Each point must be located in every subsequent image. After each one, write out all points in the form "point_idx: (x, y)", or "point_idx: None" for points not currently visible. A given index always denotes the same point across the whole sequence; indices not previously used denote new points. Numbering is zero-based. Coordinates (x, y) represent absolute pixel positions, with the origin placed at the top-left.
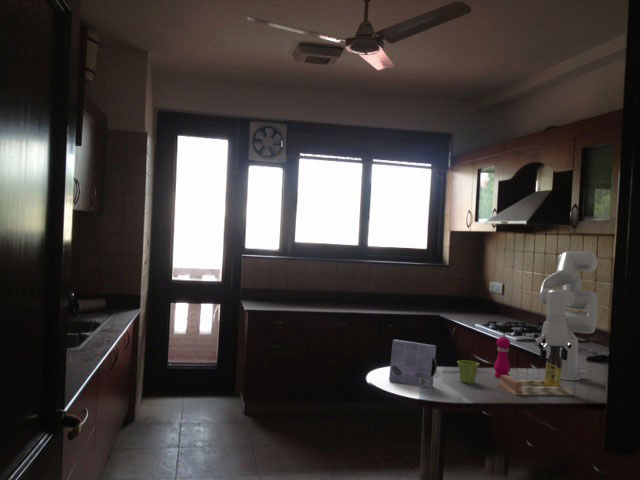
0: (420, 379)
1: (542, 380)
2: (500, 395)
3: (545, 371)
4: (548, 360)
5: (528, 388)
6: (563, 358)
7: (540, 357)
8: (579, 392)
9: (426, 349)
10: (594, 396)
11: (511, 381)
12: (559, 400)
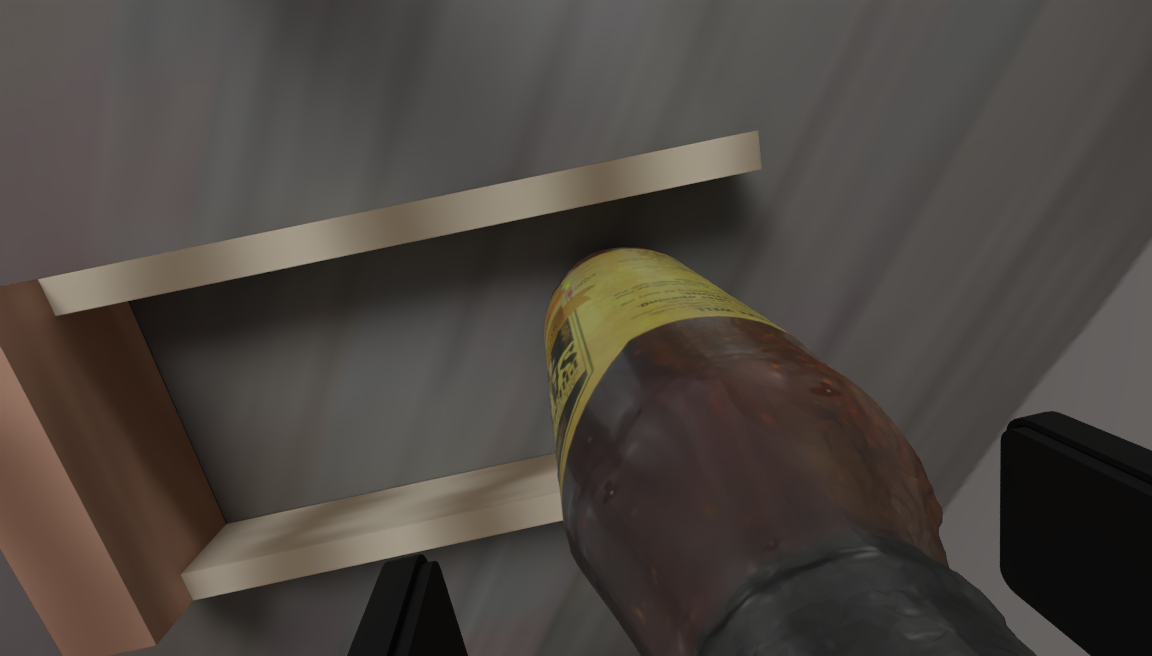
0: None
1: (574, 182)
2: (17, 613)
3: (555, 375)
4: (590, 565)
5: (275, 574)
6: (1030, 539)
7: (382, 568)
8: (899, 314)
9: None
10: (957, 434)
11: (34, 581)
12: (543, 635)
